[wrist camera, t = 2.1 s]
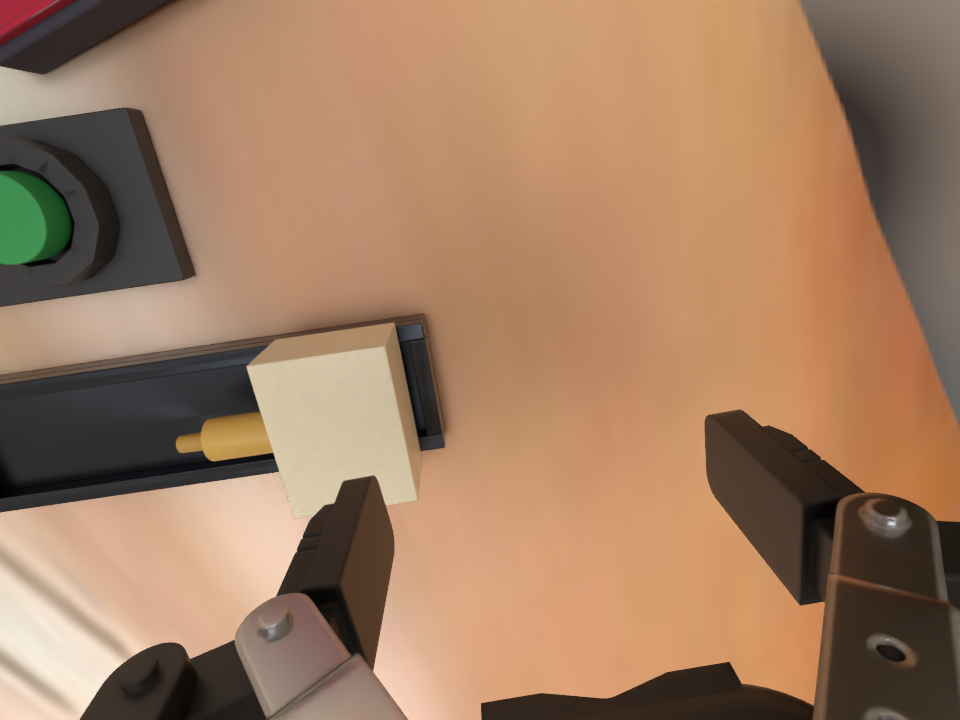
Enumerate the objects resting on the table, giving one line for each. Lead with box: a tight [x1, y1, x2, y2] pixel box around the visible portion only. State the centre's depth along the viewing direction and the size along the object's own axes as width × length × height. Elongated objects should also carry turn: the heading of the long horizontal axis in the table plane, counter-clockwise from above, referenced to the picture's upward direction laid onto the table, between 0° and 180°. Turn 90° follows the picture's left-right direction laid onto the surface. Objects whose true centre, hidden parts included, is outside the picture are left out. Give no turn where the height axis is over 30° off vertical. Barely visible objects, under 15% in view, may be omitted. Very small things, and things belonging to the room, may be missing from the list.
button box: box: [0, 108, 195, 307], centre depth 28 cm, size 12×9×3 cm
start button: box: [0, 171, 72, 265], centre depth 26 cm, size 4×4×2 cm
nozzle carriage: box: [176, 323, 422, 518], centre depth 30 cm, size 13×9×6 cm
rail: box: [0, 314, 445, 512], centre depth 33 cm, size 30×8×2 cm, turn 98°
